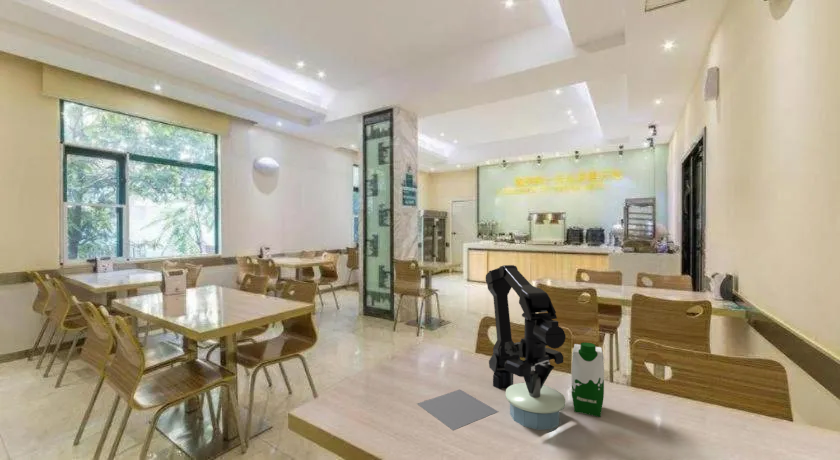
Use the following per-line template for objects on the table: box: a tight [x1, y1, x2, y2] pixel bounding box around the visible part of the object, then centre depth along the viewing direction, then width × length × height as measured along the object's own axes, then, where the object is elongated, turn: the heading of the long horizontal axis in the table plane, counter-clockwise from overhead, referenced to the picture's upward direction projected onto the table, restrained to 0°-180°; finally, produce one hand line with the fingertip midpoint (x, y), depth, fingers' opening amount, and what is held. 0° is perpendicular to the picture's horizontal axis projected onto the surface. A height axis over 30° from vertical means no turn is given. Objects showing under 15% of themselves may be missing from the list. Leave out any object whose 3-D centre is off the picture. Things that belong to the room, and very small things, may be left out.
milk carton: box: [571, 341, 605, 418], centre depth 109 cm, size 9×9×20 cm
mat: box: [416, 389, 499, 431], centre depth 107 cm, size 17×17×1 cm
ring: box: [509, 403, 561, 433], centre depth 103 cm, size 13×13×5 cm
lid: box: [505, 376, 566, 414], centre depth 102 cm, size 16×16×6 cm
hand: (534, 391), depth 103 cm, fingers closed on lid, 3 cm apart
